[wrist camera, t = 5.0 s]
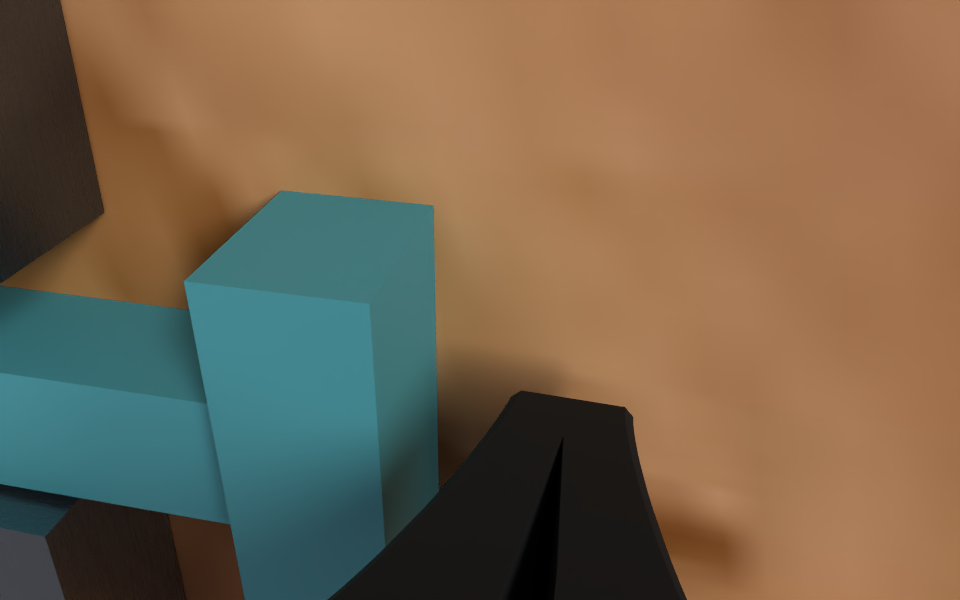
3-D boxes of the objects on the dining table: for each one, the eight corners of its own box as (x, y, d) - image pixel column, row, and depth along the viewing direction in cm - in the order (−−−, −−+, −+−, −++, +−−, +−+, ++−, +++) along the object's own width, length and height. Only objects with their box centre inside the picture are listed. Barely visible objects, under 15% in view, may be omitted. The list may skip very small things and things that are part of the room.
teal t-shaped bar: (441, 549, 13) (393, 686, 11) (-47, 464, 15) (-168, 572, 13) (433, 203, 10) (369, 304, 8) (-176, 142, 12) (-361, 214, 10)
